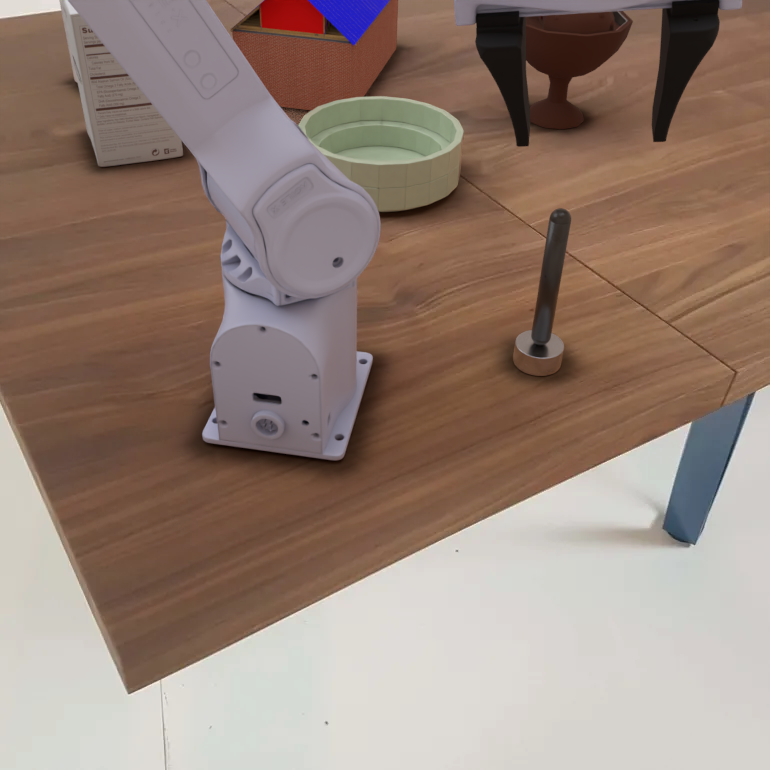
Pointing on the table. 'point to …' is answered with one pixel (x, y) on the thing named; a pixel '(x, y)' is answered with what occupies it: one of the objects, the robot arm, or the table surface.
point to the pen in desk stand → (546, 305)
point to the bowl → (390, 148)
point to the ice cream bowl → (570, 57)
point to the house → (318, 47)
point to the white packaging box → (115, 104)
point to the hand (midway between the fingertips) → (590, 135)
